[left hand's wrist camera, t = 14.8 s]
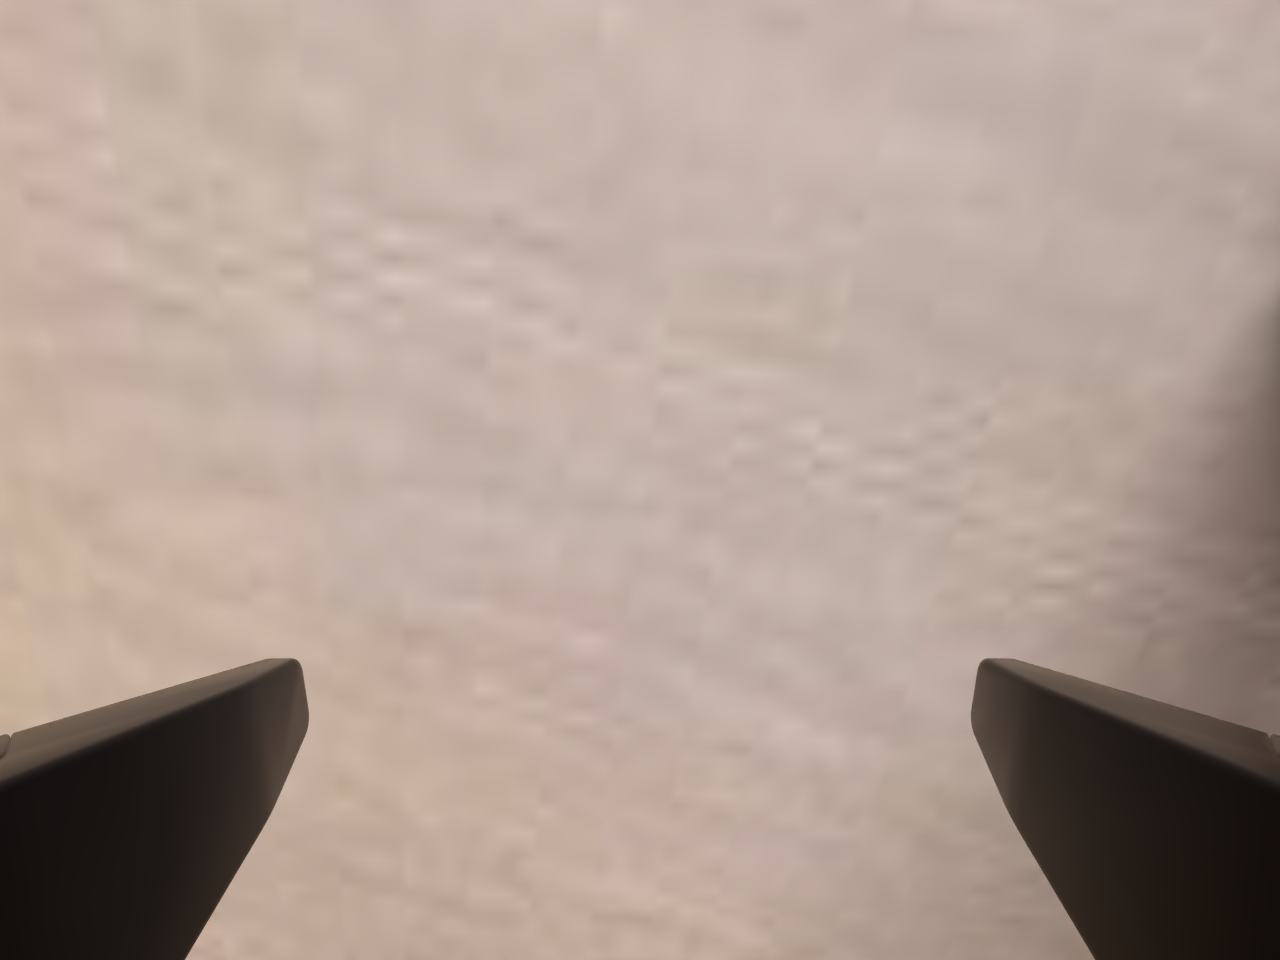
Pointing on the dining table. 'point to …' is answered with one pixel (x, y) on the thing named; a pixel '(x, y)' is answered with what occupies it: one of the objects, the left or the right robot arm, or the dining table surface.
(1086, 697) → the left robot arm
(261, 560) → the dining table surface
